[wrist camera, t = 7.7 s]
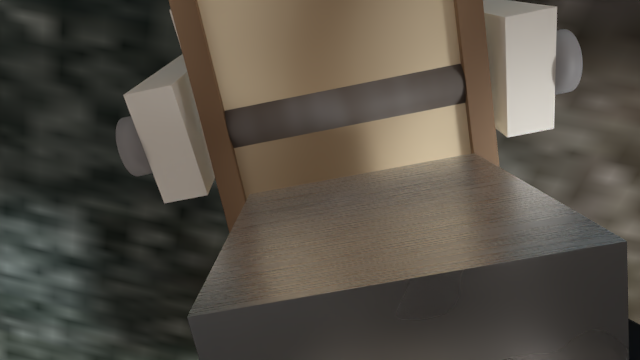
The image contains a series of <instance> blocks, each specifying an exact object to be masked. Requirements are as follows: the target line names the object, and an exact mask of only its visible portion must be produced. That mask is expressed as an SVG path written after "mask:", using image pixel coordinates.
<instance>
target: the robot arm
mask: <svg viewBox="0 0 640 360" xmlns="http://www.w3.org/2000/svg"><path fill="white" fill-rule="evenodd" d="M628 330H629V360H640V324H638V323H636V322H634V321H632V320H630V319H628Z"/></svg>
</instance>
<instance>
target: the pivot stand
mask: <svg viewBox="0 0 640 360" xmlns="http://www.w3.org/2000/svg"><path fill="white" fill-rule="evenodd" d="M483 7H484V17H485V27H486V37H487V47H488V57H489V67H490V77H491V88H492V98H493V108H494V118H495V128H496V129H497V130H499V131H500V132H501V133H503V134H504V135H505V136H506V137H513V136H518V135H523V134H529V133H534V132H539V131H544V130H549V129H554V112H555V95H556V94H561V93H567V92H571V91H573V90H574V89H575V88H576V87H577V86H578V84H579V82H580V79H581V75H582V68H583V60H582V52H581V48H580V45H579V42H578V40H577V38H576V37H575V35H574V34H573V33H572V32H571V31H569V30H567V29H561V30H557V7H556V6H548V5H541V4H533V3H526V2H518V1H510V0H483ZM169 11H170V14H171V18H172V21H173V24H174V27H175V23H174V19H173V15H172V12H171V10H169ZM175 31H176V27H175ZM176 34H177V31H176ZM177 37H178V34H177ZM178 40H179V38H178ZM179 43H180V42H179ZM180 47H181V46H180ZM123 96H124V99H125V101H126V104H127V107H128V109H129V112H130V114H131V116H129V117H124V118H121V119H120V120H119V121H118V123H117V126H116V143H117V148H118V152H119V155H120V158H121V160H122V162H123V164H124V166H125V167H126V169H127V170H128V171H129V172H130V173H131V174H132V175H134V176H141V175H147V174H152V173H153V175H154V178H155V180H156V183H157V186H158V188H159V191H160V193H161V196H162V199H163V201H164V203H169V202H175V201H180V200H185V199H190V198H195V197H201V196H206V195H208V193H209V191H210V189H211V186H212V184H213V181H214V179H215V175H214V172H213V168H212V164H211V160H210V156H209V152H208V149H207V145H206V141H205V137H204V133H203V130H202V126H201V122H200V118H199V114H198V111H197V107H196V103H195V99H194V95H193V92H192V88H191V84H190V80H189V76H188V72H187V69H186V65H185V61H184V57H183V54H182V55H180V56H179V57H177V58H176V59H175V60H173V61H172V62H170V63H169V64H167V65H166V66H164V67H163V68H161V69H160V70H159V71H157V72H156V73H154V74H153V75H151V76H150V77H148V78H147V79H146V80H144V81H143V82H141V83H140V84H138V85H137V86H135V87H134V88H133V89H131V90H130V91H128V92H127V93H125V94H124V95H123Z"/></svg>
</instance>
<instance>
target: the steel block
mask: <svg viewBox="0 0 640 360" xmlns="http://www.w3.org/2000/svg"><path fill="white" fill-rule="evenodd" d="M187 319H188V322H189V326H190V329H191V333H192V336H193V339H194V343H195V346H196V350H197V353H198V356H199V360H629V330H628V275H627V241H626V240H624V239H622V238H620V237H619V236H617V235H615V234H614V233H612V232H610V231H608V230H607V229H605V228H603V227H602V226H600V225H598V224H596V223H595V222H593V221H591V220H589V219H588V218H586V217H584V216H583V215H581V214H579V213H577V212H576V211H574V210H572V209H571V208H569V207H567V206H565V205H564V204H562V203H560V202H558V201H557V200H555V199H553V198H552V197H550V196H548V195H546V194H545V193H543V192H541V191H539V190H538V189H536V188H534V187H533V186H531V185H529V184H527V183H526V182H524V181H522V180H521V179H519V178H517V177H515V176H514V175H512V174H510V173H508V172H507V171H505V170H503V169H502V168H500V167H498V166H496V165H495V164H493V163H491V162H490V161H488V160H486V159H484V158H483V157H481V156H479V155H477V154H476V153H473V154H467V155H462V156H456V157H451V158H445V159H440V160H434V161H429V162H423V163H418V164H412V165H407V166H401V167H396V168H390V169H385V170H379V171H374V172H369V173H363V174H358V175H352V176H347V177H341V178H336V179H330V180H325V181H319V182H314V183H308V184H303V185H297V186H292V187H286V188H281V189H276V190H270V191H265V192H259V193H254V194H249V196H248V198H247V200H246V202H245V204H244V206H243V208H242V210H241V212H240V214H239V216H238V218H237V220H236V222H235V224H234V226H233V228H232V230H231V232H230V234H229V236H228V238H227V239H226V241H225V243H224V245H223V247H222V249H221V251H220V253H219V255H218V257H217V259H216V261H215V263H214V265H213V267H212V269H211V271H210V273H209V275H208V277H207V279H206V281H205V283H204V285H203V287H202V289H201V291H200V293H199V294H198V296H197V298H196V300H195V302H194V304H193V306H192V308H191V310H190V312H189V314H188V316H187Z"/></svg>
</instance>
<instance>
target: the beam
mask: <svg viewBox="0 0 640 360" xmlns="http://www.w3.org/2000/svg"><path fill="white" fill-rule="evenodd" d="M169 4H170V8H171V12H172V15H173V19H174V23H175V27H176V31H177V34H178V38H179V42H180V46H181V50H182V53H183V57H184V61H185V65H186V69H187V72H188V76H189V80H190V84H191V88H192V92H193V95H194V99H195V103H196V107H197V111H198V114H199V118H200V122H201V126H202V130H203V133H204V137H205V141H206V145H207V149H208V152H209V156H210V160H211V164H212V168H213V172H214V175H215V179H216V183H217V187H218V191H219V194H220V198H221V202H222V206H223V210H224V213H225V217H226V221H227V225H228V229H229V232H231V230H232V228H233V226H234V224H235V222H236V220H237V218H238V216H239V214H240V212H241V210H242V208H243V206H244V204H245V202H246V200H247V198H248V196H249V194H254V193H259V192H265V191H270V190H276V189H281V188H286V187H292V186H297V185H303V184H308V183H314V182H319V181H325V180H330V179H336V178H341V177H347V176H352V175H358V174H363V173H369V172H374V171H379V170H385V169H390V168H396V167H401V166H407V165H412V164H418V163H423V162H429V161H434V160H440V159H445V158H451V157H456V156H462V155H467V154H473V153H476V154H477V155H479V156H481V157H483V158H484V159H486V160H488V161H490V162H491V163H493V164H495V165H496V166H498V167H499V158H498V148H497V138H496V128H495V118H494V108H493V98H492V88H491V77H490V67H489V57H488V47H487V37H486V27H485V17H484V7H483V0H169Z"/></svg>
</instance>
